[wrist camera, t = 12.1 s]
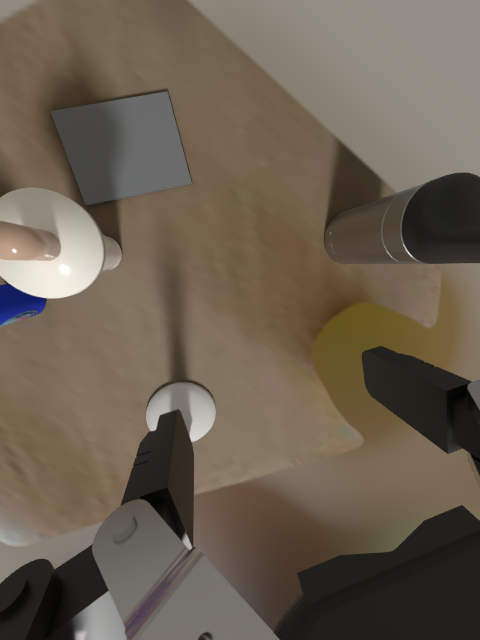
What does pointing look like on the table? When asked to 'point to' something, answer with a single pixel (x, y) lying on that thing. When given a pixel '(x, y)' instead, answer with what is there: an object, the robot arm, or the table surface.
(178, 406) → the candlestick
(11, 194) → the lid
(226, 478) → the table surface
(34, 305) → the beverage can
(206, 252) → the table surface
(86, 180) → the mat
